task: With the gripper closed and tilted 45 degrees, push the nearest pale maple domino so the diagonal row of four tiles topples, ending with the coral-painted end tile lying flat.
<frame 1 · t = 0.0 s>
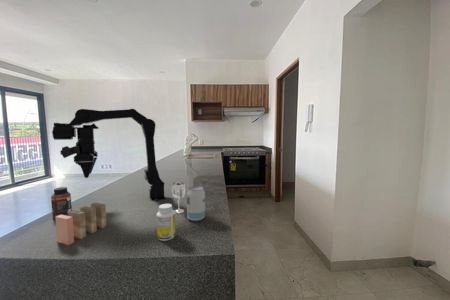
hand: (88, 175, 83), 15 cm above the table, tool pointing down, fingers open, 9 cm apart
supplement bottle 2: (62, 216, 77), on the table
domino 1: (99, 226, 68), on the table
wineglass: (178, 211, 81), on the table
domino 4: (65, 242, 58), on the table
domino 3: (78, 236, 62), on the table
supplement bottle: (166, 237, 61), on the table
beverage can: (196, 219, 74), on the table
domino 2: (89, 230, 65), on the table
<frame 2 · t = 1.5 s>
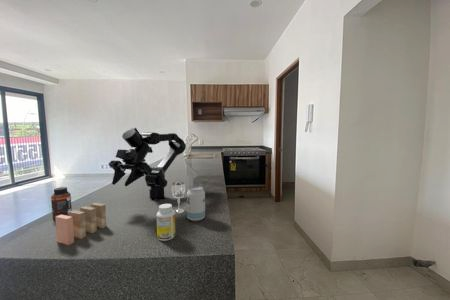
hand: (119, 185, 76), 13 cm above the table, tool tilted 45°, fingers open, 6 cm apart
nothing on the table moved.
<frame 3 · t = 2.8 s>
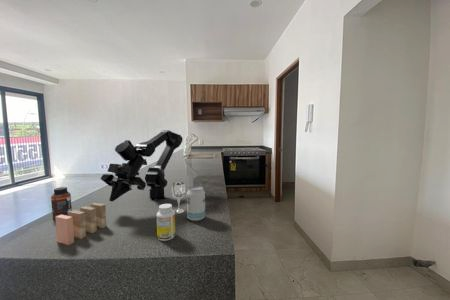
hand: (110, 200, 73), 7 cm above the table, tool tilted 45°, fingers closed
nothing on the table moved.
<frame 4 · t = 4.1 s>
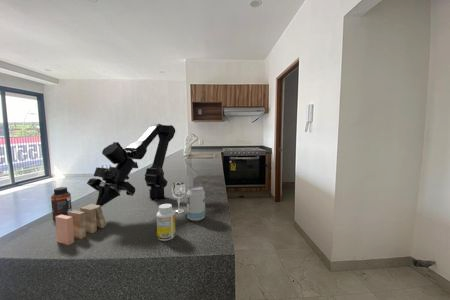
hand: (96, 207, 67), 7 cm above the table, tool tilted 45°, fingers closed
domino 1: (99, 225, 68), on the table, tilted 13°
everything else where it was.
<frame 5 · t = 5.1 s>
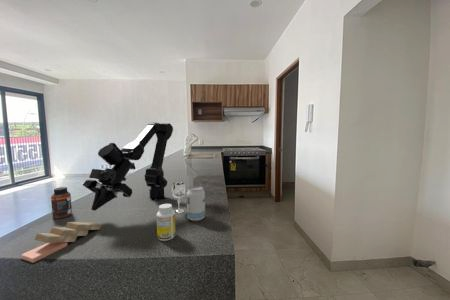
hand: (93, 210, 66), 7 cm above the table, tool tilted 45°, fingers closed
domino 1: (95, 225, 67), point 1 cm above the table, tilted 66°
domino 4: (61, 243, 57), on the table, tilted 90°
domino 3: (70, 237, 60), point 1 cm above the table, tilted 63°, touching domino 2
domino 2: (82, 231, 63), point 1 cm above the table, tilted 63°, touching domino 3
everything else where it was.
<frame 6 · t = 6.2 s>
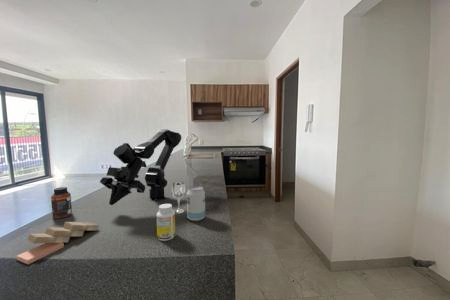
hand: (110, 204, 72), 6 cm above the table, tool tilted 45°, fingers closed
domino 1: (93, 226, 67), point 1 cm above the table, tilted 66°, touching domino 2
domino 3: (65, 237, 59), point 1 cm above the table, tilted 65°, touching domino 2
domino 2: (79, 232, 62), point 1 cm above the table, tilted 65°, touching domino 1, domino 3
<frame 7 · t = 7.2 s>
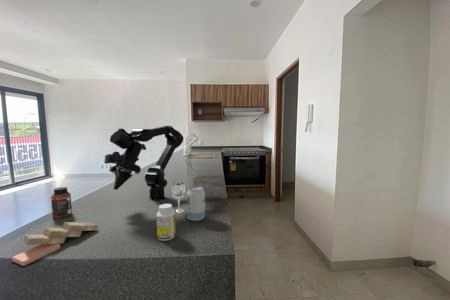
hand: (115, 189, 76), 11 cm above the table, tool tilted 35°, fingers closed
domino 2: (77, 232, 62), point 1 cm above the table, tilted 66°, touching domino 1, domino 3
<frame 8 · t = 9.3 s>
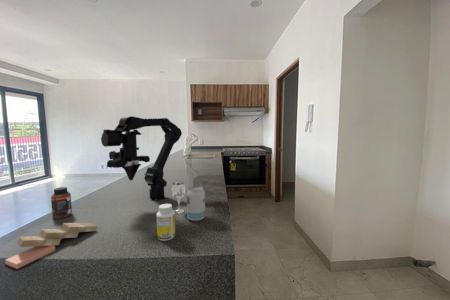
hand: (131, 180, 86), 12 cm above the table, tool pointing down, fingers closed
domino 4: (49, 247, 55), on the table, tilted 90°, touching domino 3
domino 3: (57, 240, 57), point 1 cm above the table, tilted 69°, touching domino 2, domino 4
domino 2: (74, 232, 62), point 1 cm above the table, tilted 68°, touching domino 1, domino 3
everything else where it was.
at the end: domino 1 tilted 68°; domino 4 tilted 90° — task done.
